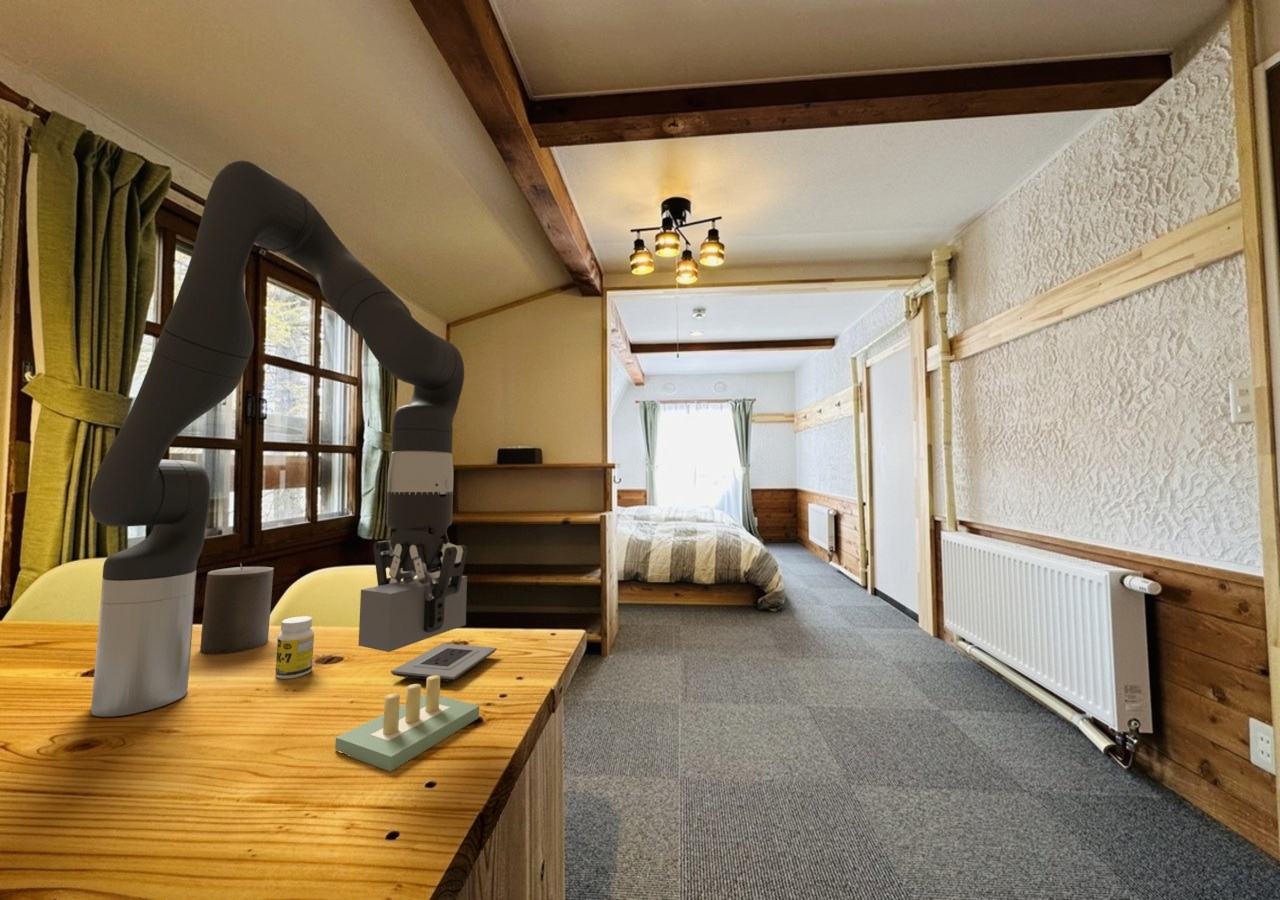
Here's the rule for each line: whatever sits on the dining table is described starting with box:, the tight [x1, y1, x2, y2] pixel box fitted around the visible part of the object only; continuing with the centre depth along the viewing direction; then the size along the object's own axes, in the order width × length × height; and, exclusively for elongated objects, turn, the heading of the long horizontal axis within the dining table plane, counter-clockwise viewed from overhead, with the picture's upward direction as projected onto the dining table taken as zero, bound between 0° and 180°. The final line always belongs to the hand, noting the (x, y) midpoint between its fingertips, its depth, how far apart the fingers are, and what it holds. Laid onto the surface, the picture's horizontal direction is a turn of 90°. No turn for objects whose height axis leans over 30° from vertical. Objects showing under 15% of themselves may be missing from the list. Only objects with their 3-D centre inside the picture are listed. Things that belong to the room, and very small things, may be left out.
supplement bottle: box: [275, 615, 315, 680], centre depth 77 cm, size 5×5×8 cm
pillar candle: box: [199, 562, 275, 655], centre depth 90 cm, size 10×10×15 cm
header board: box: [334, 675, 480, 772], centre depth 59 cm, size 9×13×6 cm
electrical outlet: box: [390, 642, 497, 683], centre depth 79 cm, size 13×10×2 cm
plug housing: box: [358, 575, 468, 653], centre depth 60 cm, size 5×11×6 cm, turn 155°
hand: (416, 627), depth 60 cm, fingers closed on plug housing, 5 cm apart
